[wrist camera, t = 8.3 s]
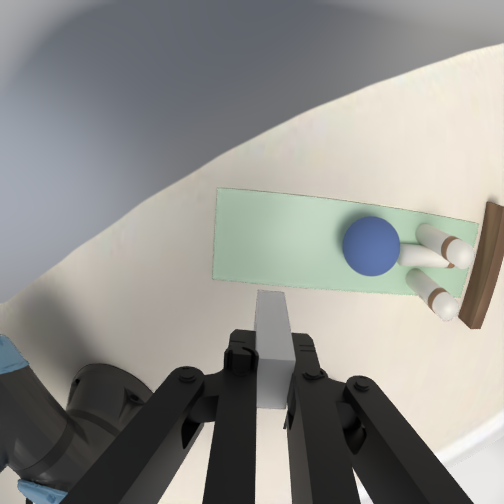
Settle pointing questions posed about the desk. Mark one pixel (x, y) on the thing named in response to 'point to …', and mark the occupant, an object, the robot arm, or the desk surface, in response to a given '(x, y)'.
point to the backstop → (485, 268)
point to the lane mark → (316, 242)
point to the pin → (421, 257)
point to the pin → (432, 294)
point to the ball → (371, 246)
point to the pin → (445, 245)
